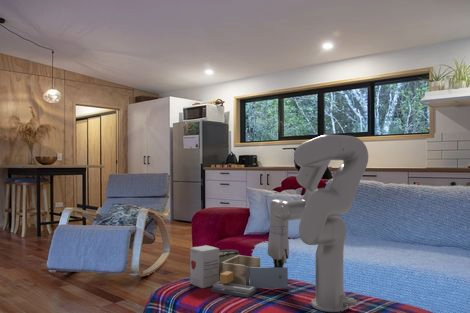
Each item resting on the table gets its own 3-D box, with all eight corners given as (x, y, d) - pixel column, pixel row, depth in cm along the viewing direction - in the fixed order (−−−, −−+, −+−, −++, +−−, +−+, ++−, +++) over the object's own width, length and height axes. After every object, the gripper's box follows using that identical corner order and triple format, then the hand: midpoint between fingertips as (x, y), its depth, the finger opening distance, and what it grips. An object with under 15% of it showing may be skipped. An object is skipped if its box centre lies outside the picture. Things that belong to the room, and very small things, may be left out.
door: (288, 289, 154) (288, 268, 155) (245, 289, 155) (245, 267, 155) (287, 287, 157) (287, 266, 157) (245, 287, 157) (245, 266, 157)
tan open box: (260, 278, 170) (260, 257, 171) (244, 288, 156) (244, 265, 156) (237, 275, 175) (237, 255, 176) (220, 284, 161) (220, 262, 161)
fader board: (256, 291, 152) (256, 285, 152) (248, 297, 145) (248, 291, 145) (220, 286, 159) (220, 280, 159) (210, 291, 152) (210, 285, 152)
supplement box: (189, 283, 162) (189, 247, 163) (206, 279, 168) (206, 244, 169) (202, 288, 156) (202, 251, 156) (219, 284, 162) (219, 248, 162)
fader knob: (233, 285, 155) (233, 271, 155) (227, 289, 151) (227, 274, 151) (226, 284, 157) (226, 270, 157) (219, 287, 152) (219, 273, 152)
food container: (230, 269, 185) (230, 248, 186) (239, 272, 180) (239, 250, 181) (209, 274, 177) (209, 251, 178) (217, 276, 173) (217, 254, 173)
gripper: (262, 227, 165) (261, 271, 165) (280, 233, 151) (279, 281, 151) (278, 226, 168) (277, 269, 168) (296, 232, 154) (296, 279, 154)
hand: (278, 275), depth 159 cm, fingers closed
